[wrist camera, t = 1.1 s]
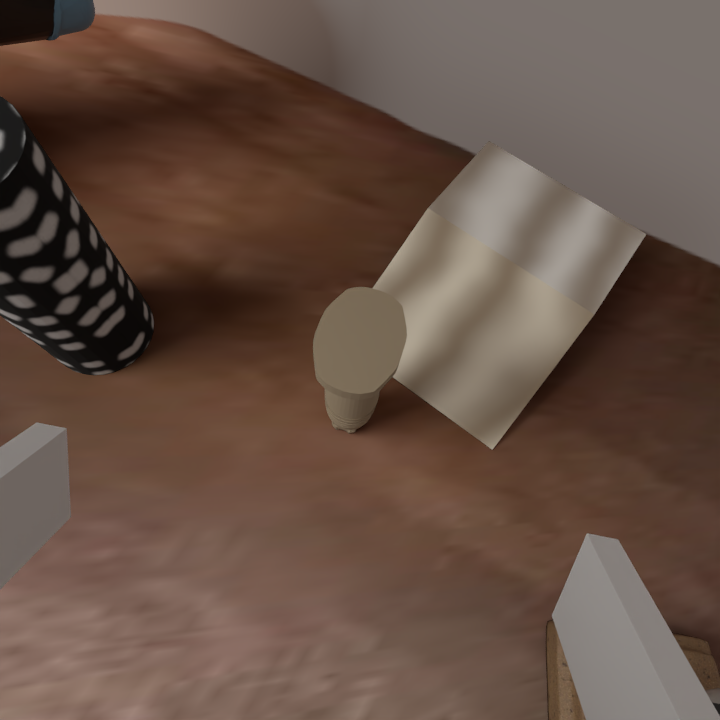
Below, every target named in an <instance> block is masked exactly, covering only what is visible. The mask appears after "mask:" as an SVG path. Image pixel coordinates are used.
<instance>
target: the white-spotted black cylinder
mask: <svg viewBox="0 0 720 720" xmlns="http://www.w3.org/2000/svg"><path fill="white" fill-rule="evenodd" d="M0 315H1V316H2V317H3V318H4V319H6V320H7V321H8V322H10V323H11V324H12V325H13V326H15V327H16V328H17V329H19V330H20V331H21V332H22V333H24V334H25V335H26V336H28V337H29V338H30V339H32V340H33V341H34V342H35V343H37V344H38V345H39V346H41V347H42V348H43V349H44V350H46V351H47V352H48V353H50V354H51V355H52V356H53V357H55V358H56V359H57V360H59V361H60V362H61V363H62V364H64V365H65V366H66V367H68V368H70V369H72V370H73V371H76V372H79V373H82V374H89V375H102V374H107V373H112V372H115V371H117V370H120V369H122V368H124V367H126V366H128V365H129V364H131V363H132V362H134V361H135V360H136V359H137V358H138V357H139V356H140V355H141V354H142V353H143V352H144V350H145V349H146V348H147V346H148V344H149V342H150V340H151V338H152V334H153V330H154V319H153V314H152V312H151V309H150V307H149V305H148V304H147V302H146V301H145V299H144V298H143V296H142V295H141V293H140V292H139V290H138V289H137V288H136V286H135V285H134V283H133V282H132V280H131V279H130V277H129V276H128V274H127V273H126V271H125V270H124V268H123V267H122V265H121V264H120V262H119V261H118V259H117V258H116V256H115V255H114V253H113V252H112V250H111V249H110V247H109V246H108V244H107V243H106V241H105V240H104V239H103V237H102V236H101V234H100V233H99V231H98V230H97V228H96V227H95V225H94V224H93V222H92V221H91V219H90V218H89V216H88V215H87V213H86V212H85V210H84V209H83V207H82V206H81V204H80V203H79V201H78V200H77V198H76V197H75V195H74V194H73V192H72V191H71V190H70V188H69V187H68V185H67V184H66V182H65V181H64V179H63V178H62V176H61V175H60V173H59V172H58V170H57V169H56V167H55V166H54V164H53V163H52V161H51V160H50V158H49V157H48V155H47V154H46V152H45V151H44V149H43V148H42V146H41V145H40V143H39V142H38V141H37V139H36V138H35V136H34V135H33V133H32V132H31V130H30V129H29V127H28V126H27V124H26V123H25V121H24V120H23V118H22V117H21V115H20V114H19V113H18V111H17V110H16V109H15V107H14V106H13V105H12V104H10V103H9V102H8V101H6V100H5V99H4V98H2V97H0Z"/></svg>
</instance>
